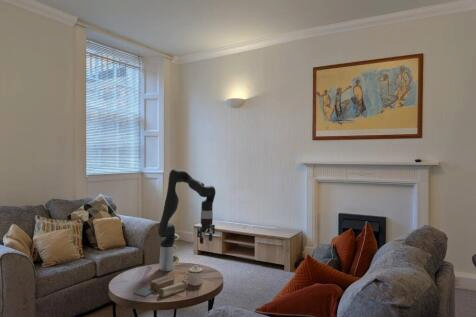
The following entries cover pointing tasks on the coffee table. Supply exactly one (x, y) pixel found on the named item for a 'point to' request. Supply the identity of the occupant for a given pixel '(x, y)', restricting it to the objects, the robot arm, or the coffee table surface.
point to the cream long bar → (172, 289)
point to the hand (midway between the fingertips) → (206, 242)
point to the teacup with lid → (195, 276)
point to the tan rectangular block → (161, 283)
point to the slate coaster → (144, 292)
